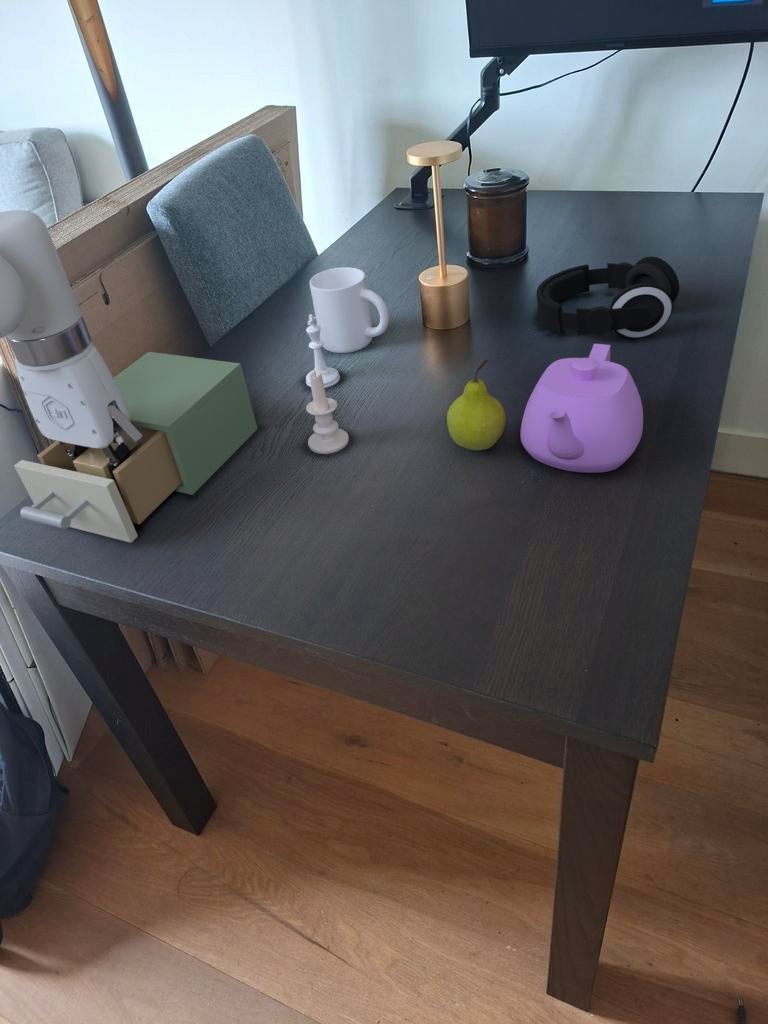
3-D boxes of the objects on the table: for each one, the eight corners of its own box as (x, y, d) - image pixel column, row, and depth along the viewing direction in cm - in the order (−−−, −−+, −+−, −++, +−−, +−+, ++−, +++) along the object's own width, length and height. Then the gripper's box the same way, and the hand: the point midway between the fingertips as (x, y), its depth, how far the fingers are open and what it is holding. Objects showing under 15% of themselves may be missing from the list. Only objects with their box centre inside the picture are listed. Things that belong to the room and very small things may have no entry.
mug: (404, 336, 117) (397, 271, 110) (378, 361, 112) (369, 295, 105) (338, 327, 122) (328, 264, 116) (310, 350, 117) (298, 286, 110)
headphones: (666, 293, 99) (519, 298, 108) (666, 348, 104) (525, 349, 113) (687, 244, 111) (552, 253, 120) (686, 295, 116) (556, 300, 125)
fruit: (437, 450, 92) (429, 362, 85) (471, 424, 96) (466, 337, 88) (483, 468, 88) (479, 377, 81) (517, 440, 92) (516, 351, 84)
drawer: (105, 568, 81) (78, 511, 76) (14, 543, 86) (-17, 488, 81) (202, 472, 93) (184, 417, 88) (117, 455, 98) (96, 402, 93)
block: (116, 499, 87) (102, 467, 84) (86, 492, 89) (72, 461, 86) (140, 476, 90) (128, 445, 87) (112, 470, 92) (98, 439, 89)
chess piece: (300, 386, 108) (286, 322, 102) (315, 370, 112) (302, 306, 106) (331, 390, 107) (319, 324, 100) (345, 372, 110) (334, 308, 104)
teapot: (494, 488, 85) (492, 403, 78) (549, 398, 98) (550, 318, 91) (615, 512, 80) (624, 423, 73) (655, 413, 93) (666, 330, 86)
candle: (317, 459, 94) (301, 385, 87) (302, 439, 98) (286, 367, 91) (355, 445, 95) (343, 371, 89) (339, 426, 99) (326, 354, 93)
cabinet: (192, 495, 91) (168, 426, 85) (99, 475, 97) (70, 409, 91) (257, 428, 101) (240, 363, 95) (170, 414, 107) (148, 351, 101)
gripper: (-35, 350, 78) (37, 489, 90) (88, 367, 72) (148, 515, 83) (19, 317, 83) (81, 453, 95) (138, 331, 77) (189, 475, 88)
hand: (112, 481), depth 89 cm, fingers closed on block, 4 cm apart
